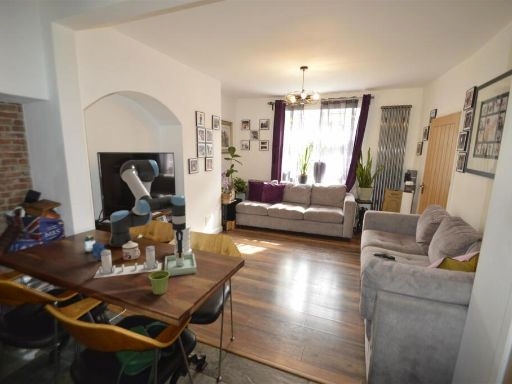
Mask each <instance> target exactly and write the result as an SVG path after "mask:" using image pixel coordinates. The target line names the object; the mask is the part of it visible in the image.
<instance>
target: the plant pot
mask: <svg viewBox="0 0 512 384" xmlns="http://www.w3.org/2000/svg"><path fill="white" fill-rule="evenodd" d="M169 275H170V273H169V272H168V271H164V270H160V271H152V272H151V273H150V274H148V278H149V281H150V283H151V289H152V294H154V295H163V294H165V293H166V292H167V288H168V284H169V283H168V282H169V277H170V276H169Z"/></svg>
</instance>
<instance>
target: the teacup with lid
mask: <svg viewBox="0 0 512 384" xmlns="http://www.w3.org/2000/svg"><path fill="white" fill-rule="evenodd" d="M121 248H122V258H123V260H125V261H132V260H136V259H138V258H139V257H140V256H141V251H140V249H139V244H138V242H134V241H133V242H132V241H129V242H128V243H127V244H124V245H123V246H122V247H121Z"/></svg>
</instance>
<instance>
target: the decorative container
mask: <svg viewBox="0 0 512 384" xmlns="http://www.w3.org/2000/svg"><path fill="white" fill-rule="evenodd" d="M173 231H174V232H173V234H174V250H173V254H174V255H176V244H177V240H176V232H177V231H175V230H173ZM182 231H183V240H182V244H184V254H191V253H192V252H193V249H192V248H191V234H190V233H191V224H187V223H186V229H184V230H182ZM181 236H182V235H181Z"/></svg>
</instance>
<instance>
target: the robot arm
mask: <svg viewBox="0 0 512 384" xmlns="http://www.w3.org/2000/svg"><path fill="white" fill-rule="evenodd" d="M159 174H160V173H159V166H158V163H157V162H156V161H155V160H153V159H130V160H127V161H125V162H124V163H123V164H122V165H121V167H120V170H119V175H120V178H121V179H122V180H123V181H124V182H125V183H126V184H127V186H128V188H129V189H130V191H131V193H132V194H133V196H134V198H135V202H134V206H133V207H132V208H131V211H129V210H125V209H124V210H119V211H118V210H117V211H115V212H113V213H112V214H111V215H110V220H109V222H110V229H111V230H110V231H111V235H110V237H109V238H110V239H109V243H108V244H109V246H110V247H113V248H122V246H123V245H124V244H127V243H128V242H129V241H132V242H133V243H134V239H133V237H132V234H131V232H130V229H131V228H137V227H143V226H147V225H149V224H150V223H151V221H152V217H153V216H152V213H156V212H162V211H169V210H170V211H171V217H170V220H171V222H172V224H171V225H172V226H171V227H172V228H171V229H172V230H173V231H177V232H176V240H177V244H178V252H176V253H178V263H183V254H182V252H183V251H182V240H183V231H182V230H184V229H186V224H187V223H186V222H187V215H186V204H187V203H186V196H184V195H181V194H175V195H165V196H163V197H155V198H153V197H152V196H151V194H150V193H151V187H152V182H154V181H155V178H156V177H158V176H159ZM181 235H182V236H181Z"/></svg>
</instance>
